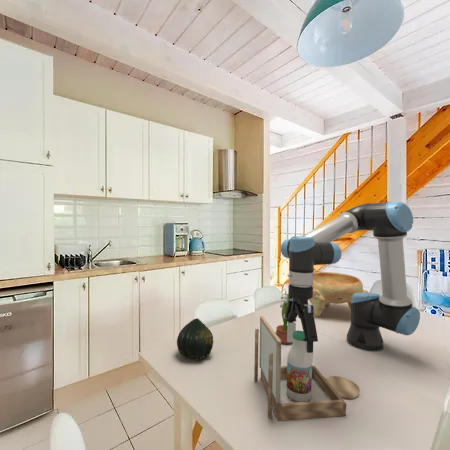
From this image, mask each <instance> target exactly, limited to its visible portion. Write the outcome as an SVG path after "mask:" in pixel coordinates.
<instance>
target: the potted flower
mask: <svg viewBox="0 0 450 450" xmlns="http://www.w3.org/2000/svg"><path fill="white" fill-rule="evenodd" d="M284 291H285V293H284ZM281 295H282V296H281V297H280V300H283V302H281V304H280V305H279V308H281V316H282V323H283V324H280V325H277V326H276V328H275V329H276V331H274V332H275V333H276V335H277V336H278V337H279V339H280V340H281V344H285V345H289V344H293V342H287V325H288V322H287V318H285V314H286V310H287V305H288V301H289V295H288V293H287V290H286V288H284V289H283V290H282V294H281Z"/></svg>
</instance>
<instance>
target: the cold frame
mask: <svg viewBox="0 0 450 450" xmlns="http://www.w3.org/2000/svg"><path fill="white" fill-rule="evenodd" d="M325 378H326V377H325V376H324V375H323V374H322V373H321V372H320V371H319V369H318V368H317V367H316V366H315V365H313V364H312V379H314V381H315V382H316V384H317V385H319V387H320V388H321V389H322V391H323V392H324V394H325V395H326V396H327V398H329V399H328V400H313V401H307V402H297V401H296V402H285V403H282V400H280V405H277V404H276V401H275V399H274V396H273V394H272V410H273V411H274V414H275V416H276V419H277V420H278V421H289V420H302V419H303V420H304V419H320V418H329V417H330V418H331V417H344V416H345V417H346V416H347V402H345V399H342V398H341V397H340V395H339V394H338V393H337V392H336V391H335V389H334V388H333V387H332V386H331V385H330V384H329V382H328V381H327V380H326V379H325ZM260 380H261V383H262V385H263V387H264V388H263V389H264V390H265V392H266V395H267V396H268V383H267V381H266V379H265V377H264V374H263V372H262V370H261V369H260ZM281 380H287V365H281Z"/></svg>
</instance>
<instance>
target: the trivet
mask: <svg viewBox="0 0 450 450" xmlns="http://www.w3.org/2000/svg"><path fill="white" fill-rule="evenodd" d="M324 378H325V379H326V380H327V381H328V382H329V384H330V385H331V386H332V387H333V388H334V389H335V391H336V392H337V393H338V394H339V395H340V397H341V398H342V399H343V400H355V399H357V398H359V397H360V395H361V394H360V392H361V391H360V390H361V389H360V387H359V386H358V385H357V383H355V382H354V381H353V380H351V379H348V378H346V377H342V376H337V375H330V376H327V377H324Z"/></svg>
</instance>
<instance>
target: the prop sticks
mask: <svg viewBox="0 0 450 450" xmlns="http://www.w3.org/2000/svg"><path fill="white" fill-rule="evenodd" d="M259 335H260V328H259V329H258V328H255V329H254V367H253V368H254V370H253V371H254V373H253V374H254V377H253V380H254V381H253V382H254V383H258V380H259V379H258V378H259ZM272 385H273V353H269V366H268V395H267V418H268V419H273V407H272Z"/></svg>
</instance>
